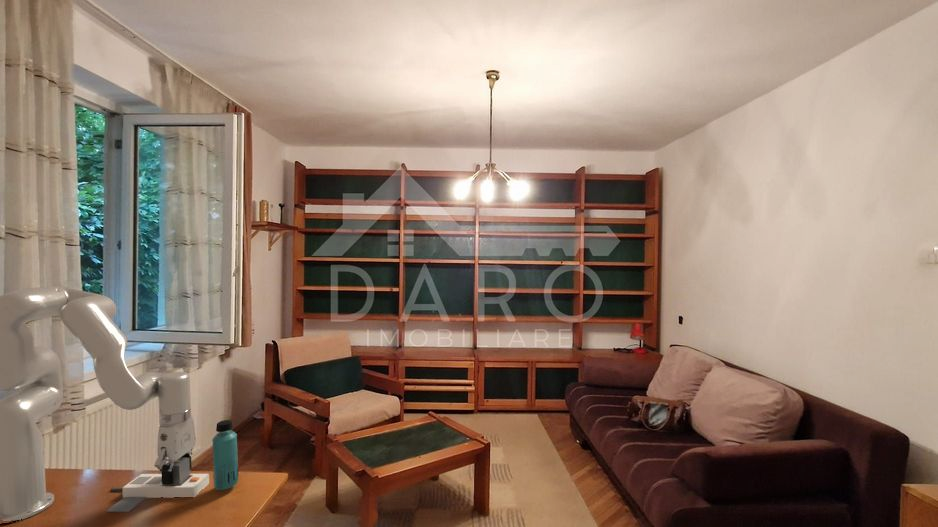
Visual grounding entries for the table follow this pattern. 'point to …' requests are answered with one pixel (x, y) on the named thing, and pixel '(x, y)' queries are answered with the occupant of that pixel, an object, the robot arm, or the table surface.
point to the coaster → (126, 504)
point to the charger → (180, 471)
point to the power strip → (163, 487)
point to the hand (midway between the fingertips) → (177, 476)
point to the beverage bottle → (225, 456)
